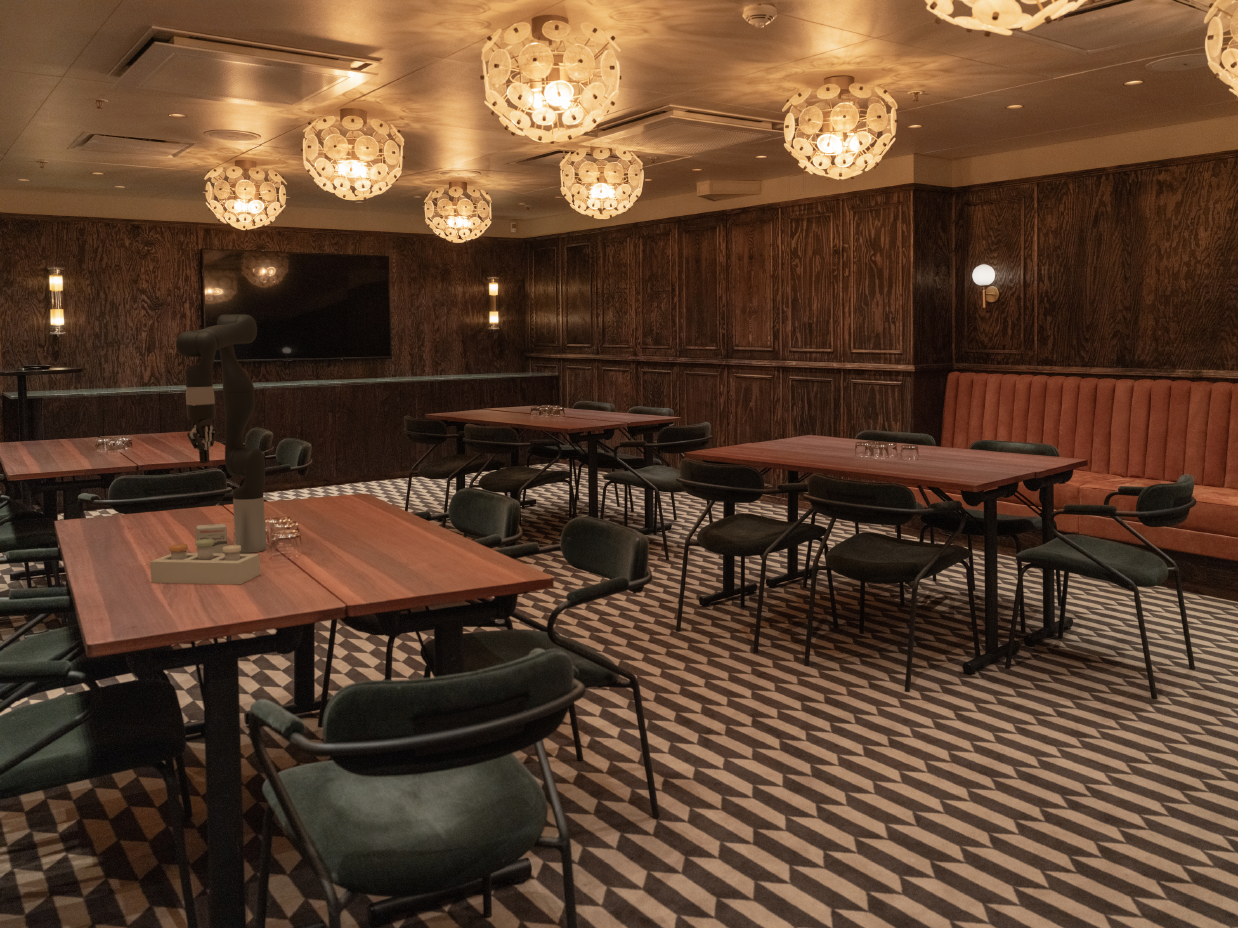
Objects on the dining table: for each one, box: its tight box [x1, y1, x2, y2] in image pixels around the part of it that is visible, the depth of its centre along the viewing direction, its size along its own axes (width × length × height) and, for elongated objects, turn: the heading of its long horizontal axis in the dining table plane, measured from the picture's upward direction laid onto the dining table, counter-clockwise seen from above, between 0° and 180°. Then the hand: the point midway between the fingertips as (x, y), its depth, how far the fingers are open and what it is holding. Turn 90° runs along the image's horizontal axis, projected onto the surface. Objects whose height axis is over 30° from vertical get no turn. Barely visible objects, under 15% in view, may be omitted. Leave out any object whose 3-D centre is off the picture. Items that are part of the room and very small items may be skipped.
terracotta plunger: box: [168, 543, 189, 560], centre depth 279 cm, size 5×5×8 cm
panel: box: [149, 552, 261, 586], centre depth 278 cm, size 12×26×6 cm, turn 84°
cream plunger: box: [223, 544, 241, 561], centre depth 277 cm, size 5×5×8 cm
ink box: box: [195, 523, 228, 553], centre depth 297 cm, size 9×5×12 cm, turn 114°
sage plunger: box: [195, 539, 214, 560], centre depth 278 cm, size 5×5×8 cm
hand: (204, 462), depth 282 cm, fingers closed
